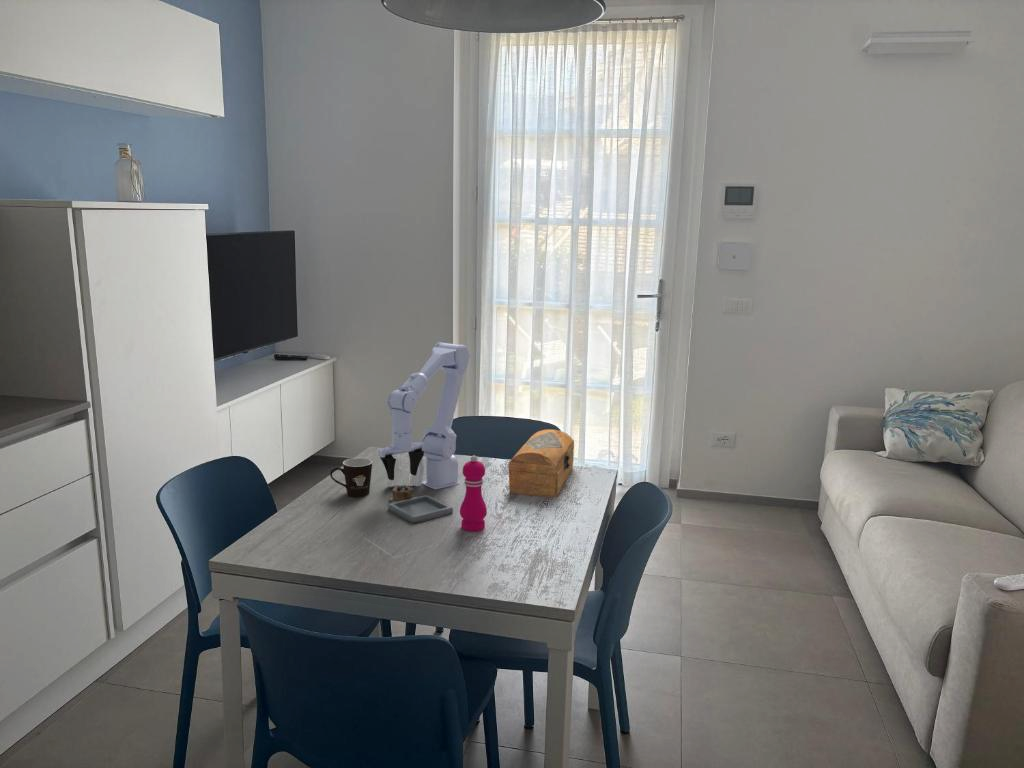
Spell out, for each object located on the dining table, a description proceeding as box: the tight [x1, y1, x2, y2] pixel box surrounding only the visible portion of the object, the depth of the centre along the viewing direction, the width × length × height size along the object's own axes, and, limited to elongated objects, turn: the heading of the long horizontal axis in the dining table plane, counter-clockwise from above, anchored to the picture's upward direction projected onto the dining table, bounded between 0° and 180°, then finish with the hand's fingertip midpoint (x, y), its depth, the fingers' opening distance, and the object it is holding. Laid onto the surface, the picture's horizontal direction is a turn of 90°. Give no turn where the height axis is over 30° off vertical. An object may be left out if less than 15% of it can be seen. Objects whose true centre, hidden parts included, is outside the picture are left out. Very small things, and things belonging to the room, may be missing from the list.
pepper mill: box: [459, 455, 488, 532], centre depth 210 cm, size 7×7×20 cm
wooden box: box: [507, 429, 575, 498], centre depth 249 cm, size 30×16×14 cm, turn 165°
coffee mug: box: [329, 457, 373, 498], centre depth 234 cm, size 12×9×10 cm
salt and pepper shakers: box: [386, 453, 425, 488], centre depth 241 cm, size 12×4×11 cm, turn 115°
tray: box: [387, 494, 454, 525], centre depth 222 cm, size 13×13×2 cm
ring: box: [392, 485, 413, 502], centre depth 231 cm, size 5×8×3 cm
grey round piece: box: [388, 483, 416, 503], centre depth 230 cm, size 8×8×5 cm
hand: (402, 476), depth 229 cm, fingers open, 7 cm apart
